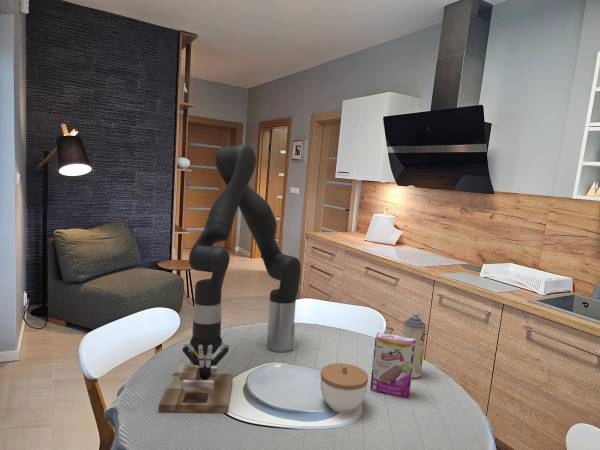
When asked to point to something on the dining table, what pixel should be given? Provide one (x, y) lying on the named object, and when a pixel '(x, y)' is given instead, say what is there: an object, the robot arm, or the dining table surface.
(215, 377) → the channel deck
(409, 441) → the dining table surface
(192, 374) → the birch block
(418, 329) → the aerosol can
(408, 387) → the candy bar box
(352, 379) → the lidded bowl
